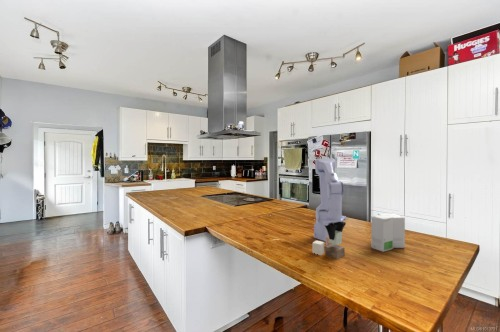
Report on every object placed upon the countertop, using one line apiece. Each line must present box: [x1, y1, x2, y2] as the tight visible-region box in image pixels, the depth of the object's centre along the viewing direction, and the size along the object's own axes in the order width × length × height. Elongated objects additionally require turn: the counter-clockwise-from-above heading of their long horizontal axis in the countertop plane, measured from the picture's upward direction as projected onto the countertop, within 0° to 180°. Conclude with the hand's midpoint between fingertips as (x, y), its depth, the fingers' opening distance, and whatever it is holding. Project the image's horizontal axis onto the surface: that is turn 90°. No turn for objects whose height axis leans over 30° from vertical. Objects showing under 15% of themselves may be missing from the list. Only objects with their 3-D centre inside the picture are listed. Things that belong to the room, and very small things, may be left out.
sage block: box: [329, 231, 343, 245], centre depth 104 cm, size 4×4×5 cm
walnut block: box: [324, 244, 346, 260], centre depth 105 cm, size 6×6×4 cm
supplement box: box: [377, 213, 406, 249], centre depth 116 cm, size 9×9×15 cm
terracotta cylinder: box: [325, 236, 332, 247], centre depth 114 cm, size 4×4×5 cm
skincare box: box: [370, 214, 394, 253], centre depth 112 cm, size 8×7×16 cm
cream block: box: [312, 239, 325, 256], centre depth 107 cm, size 4×4×5 cm
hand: (334, 238), depth 104 cm, fingers closed on sage block, 4 cm apart
